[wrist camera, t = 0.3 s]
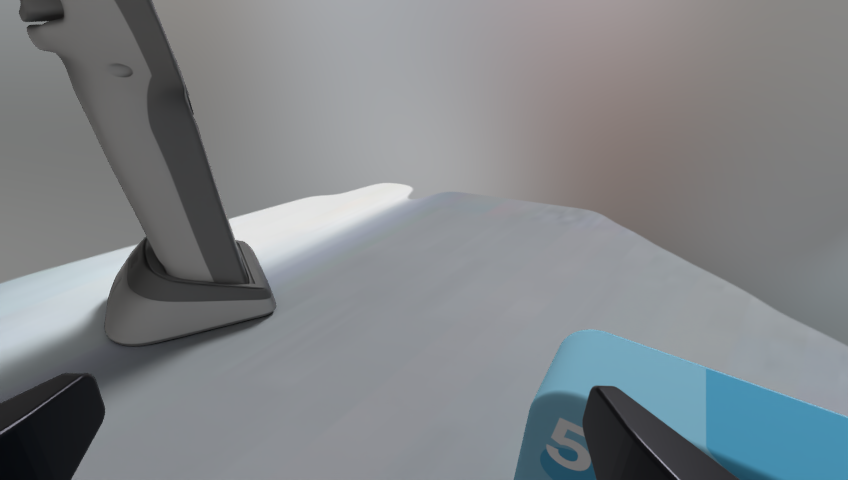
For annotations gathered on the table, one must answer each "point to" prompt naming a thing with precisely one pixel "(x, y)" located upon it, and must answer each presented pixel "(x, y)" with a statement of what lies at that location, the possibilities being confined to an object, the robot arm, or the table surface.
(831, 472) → the data package
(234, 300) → the handheld scanner
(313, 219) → the table surface
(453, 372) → the table surface
